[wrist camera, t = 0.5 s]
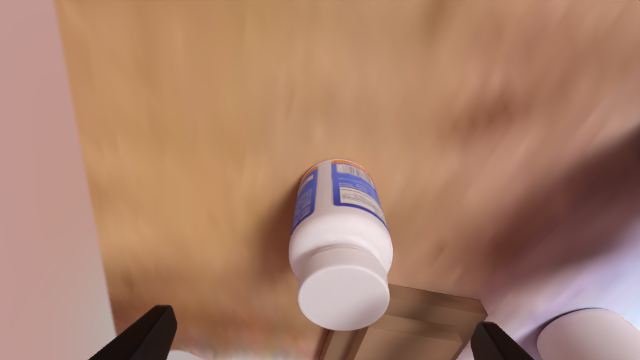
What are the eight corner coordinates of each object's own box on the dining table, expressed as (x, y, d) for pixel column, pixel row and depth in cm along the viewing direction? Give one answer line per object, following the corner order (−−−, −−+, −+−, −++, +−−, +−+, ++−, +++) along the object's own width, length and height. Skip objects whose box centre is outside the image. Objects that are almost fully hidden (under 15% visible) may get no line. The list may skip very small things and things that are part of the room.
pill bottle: (315, 229, 23) (307, 352, 14) (286, 170, 21) (257, 275, 12) (383, 209, 22) (419, 328, 13) (361, 145, 20) (388, 239, 11)
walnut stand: (479, 300, 26) (497, 331, 23) (428, 375, 31) (437, 408, 29) (348, 276, 25) (350, 306, 22) (318, 359, 31) (317, 390, 28)
